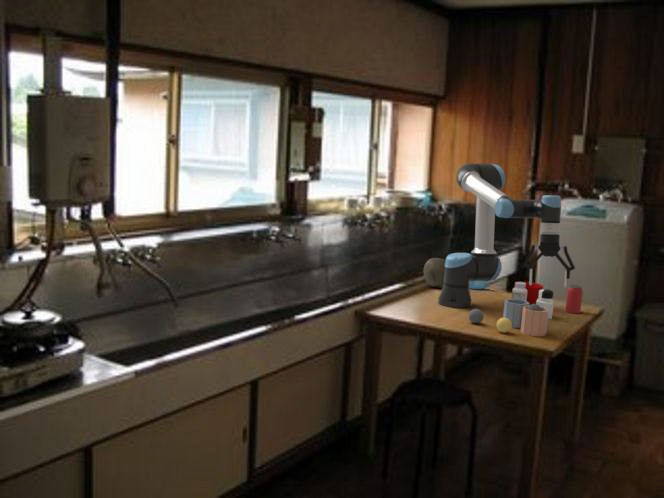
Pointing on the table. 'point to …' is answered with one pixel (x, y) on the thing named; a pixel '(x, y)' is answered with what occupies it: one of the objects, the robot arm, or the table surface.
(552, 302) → the medicine bottle
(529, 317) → the terracotta tube
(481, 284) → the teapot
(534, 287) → the ceramic cup
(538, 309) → the charcoal ball
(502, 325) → the ochre ball
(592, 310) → the table surface
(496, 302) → the table surface
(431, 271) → the grey stone sphere
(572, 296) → the beer can
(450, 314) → the table surface
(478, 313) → the charcoal ball
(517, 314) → the slate tube
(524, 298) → the supplement bottle
